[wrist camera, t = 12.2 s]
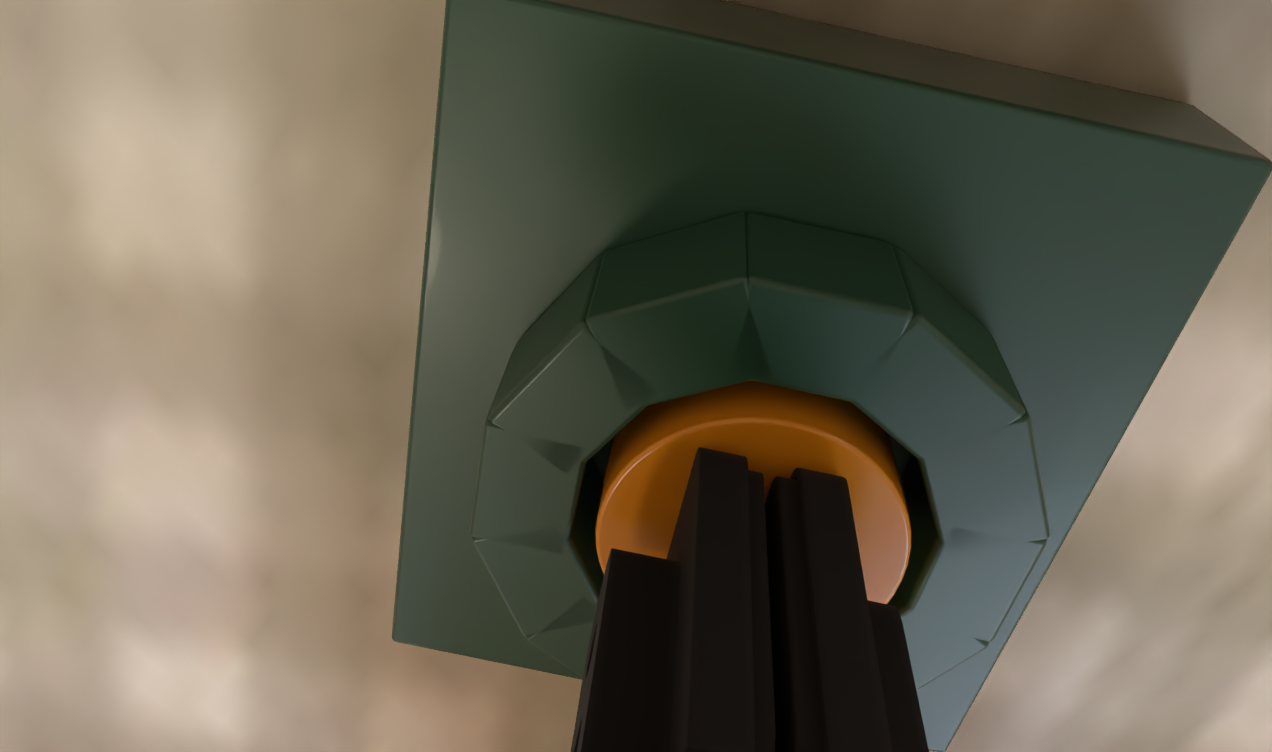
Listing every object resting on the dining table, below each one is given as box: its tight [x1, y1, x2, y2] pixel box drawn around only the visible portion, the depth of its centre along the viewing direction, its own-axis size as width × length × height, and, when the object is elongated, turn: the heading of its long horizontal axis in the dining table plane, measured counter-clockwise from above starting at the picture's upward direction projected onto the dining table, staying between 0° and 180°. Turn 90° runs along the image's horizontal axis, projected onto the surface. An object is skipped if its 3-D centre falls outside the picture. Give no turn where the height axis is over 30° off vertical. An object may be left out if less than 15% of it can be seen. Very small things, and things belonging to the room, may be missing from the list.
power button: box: [595, 381, 911, 604], centre depth 12 cm, size 4×4×2 cm
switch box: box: [392, 0, 1272, 752], centre depth 13 cm, size 10×9×4 cm
